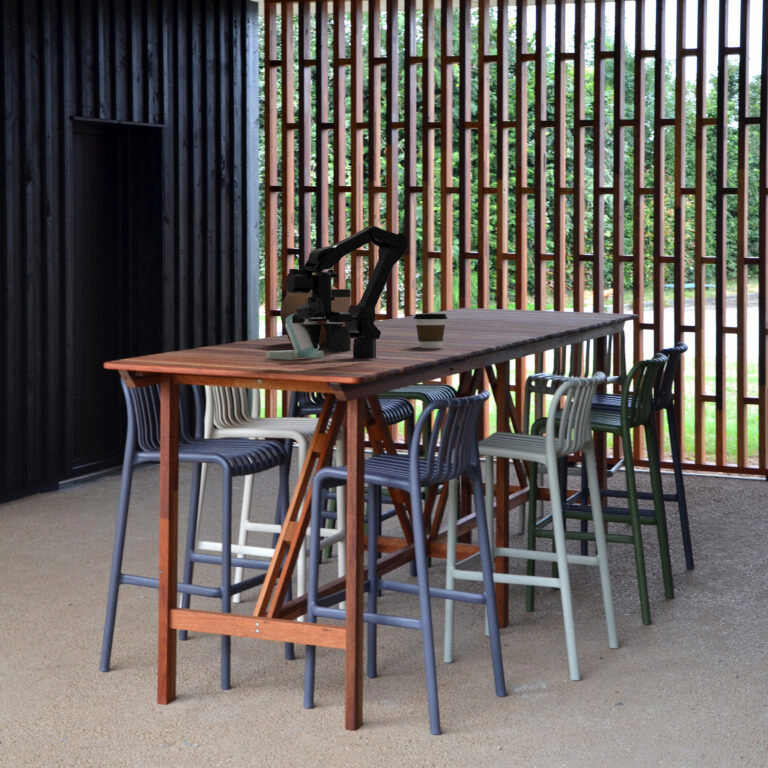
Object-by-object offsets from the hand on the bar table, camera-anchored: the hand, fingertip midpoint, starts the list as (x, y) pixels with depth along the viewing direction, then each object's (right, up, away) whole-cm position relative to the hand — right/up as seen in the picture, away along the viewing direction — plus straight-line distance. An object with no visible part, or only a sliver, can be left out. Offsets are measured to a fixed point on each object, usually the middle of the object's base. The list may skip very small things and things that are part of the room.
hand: (321, 348), depth 360 cm
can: (-4, -1, +4) cm, 6 cm away
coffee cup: (+33, 0, +48) cm, 58 cm away
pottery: (-4, +1, +52) cm, 52 cm away
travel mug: (+4, -1, +35) cm, 36 cm away
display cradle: (-8, -3, +8) cm, 11 cm away
